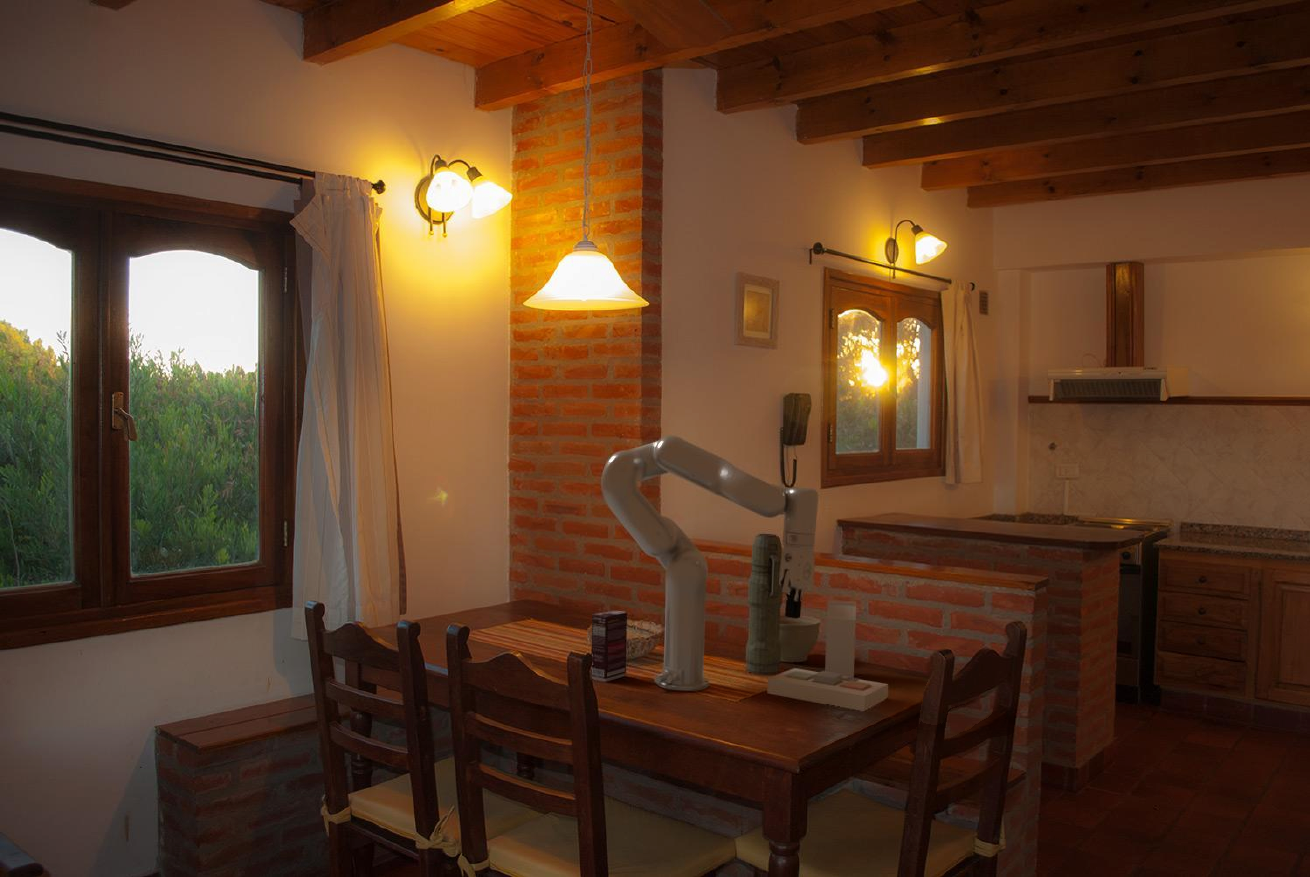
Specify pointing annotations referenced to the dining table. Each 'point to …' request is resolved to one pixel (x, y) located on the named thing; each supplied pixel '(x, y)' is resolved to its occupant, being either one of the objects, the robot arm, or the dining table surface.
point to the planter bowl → (797, 637)
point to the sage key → (800, 675)
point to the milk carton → (840, 637)
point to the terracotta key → (856, 685)
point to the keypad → (827, 691)
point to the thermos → (764, 606)
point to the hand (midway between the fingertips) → (792, 617)
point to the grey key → (827, 678)
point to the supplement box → (609, 645)
